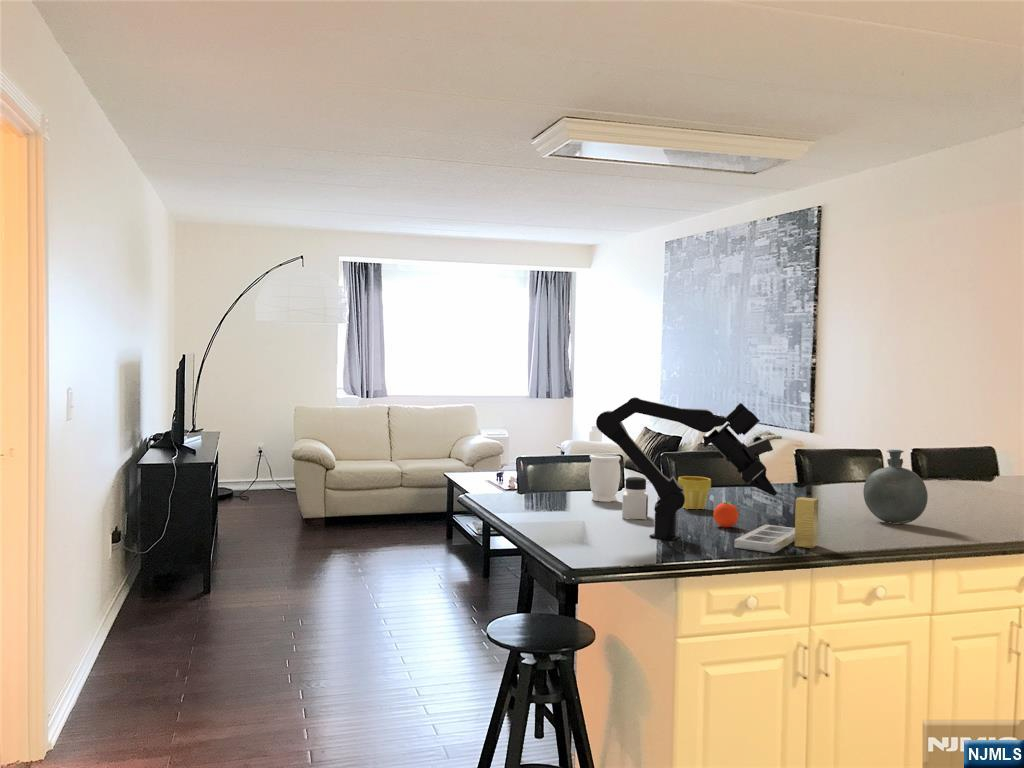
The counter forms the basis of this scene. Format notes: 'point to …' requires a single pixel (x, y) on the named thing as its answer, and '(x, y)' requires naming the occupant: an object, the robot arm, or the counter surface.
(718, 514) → the tomato
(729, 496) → the counter surface
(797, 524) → the yellow tall block
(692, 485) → the plant pot
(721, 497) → the counter surface
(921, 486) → the flask
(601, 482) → the jar
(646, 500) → the medicine bottle
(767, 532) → the white compartment tray
